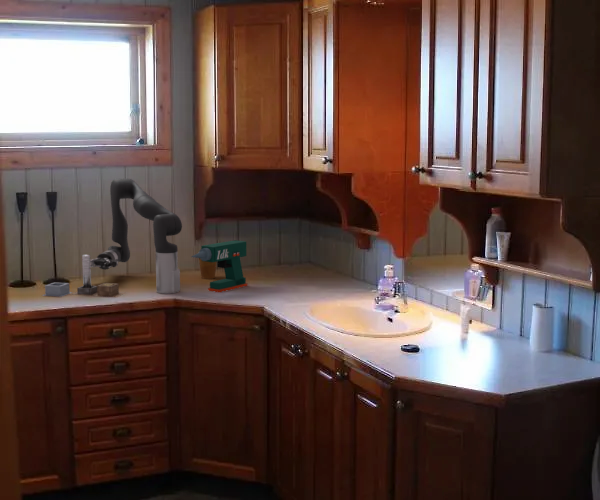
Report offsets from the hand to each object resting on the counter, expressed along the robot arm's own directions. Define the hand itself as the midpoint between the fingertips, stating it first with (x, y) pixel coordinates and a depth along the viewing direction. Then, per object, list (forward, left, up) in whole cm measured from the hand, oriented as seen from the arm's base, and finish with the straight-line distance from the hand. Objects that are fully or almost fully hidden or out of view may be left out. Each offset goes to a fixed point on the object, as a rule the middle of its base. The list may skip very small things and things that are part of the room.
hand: (95, 265), depth 350 cm
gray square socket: (+9, +16, -11) cm, 21 cm away
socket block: (-7, +11, -11) cm, 17 cm away
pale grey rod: (-2, +11, -10) cm, 15 cm away
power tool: (-51, -13, -11) cm, 54 cm away
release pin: (-11, +11, -8) cm, 18 cm away
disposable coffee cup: (-36, -40, -11) cm, 55 cm away
